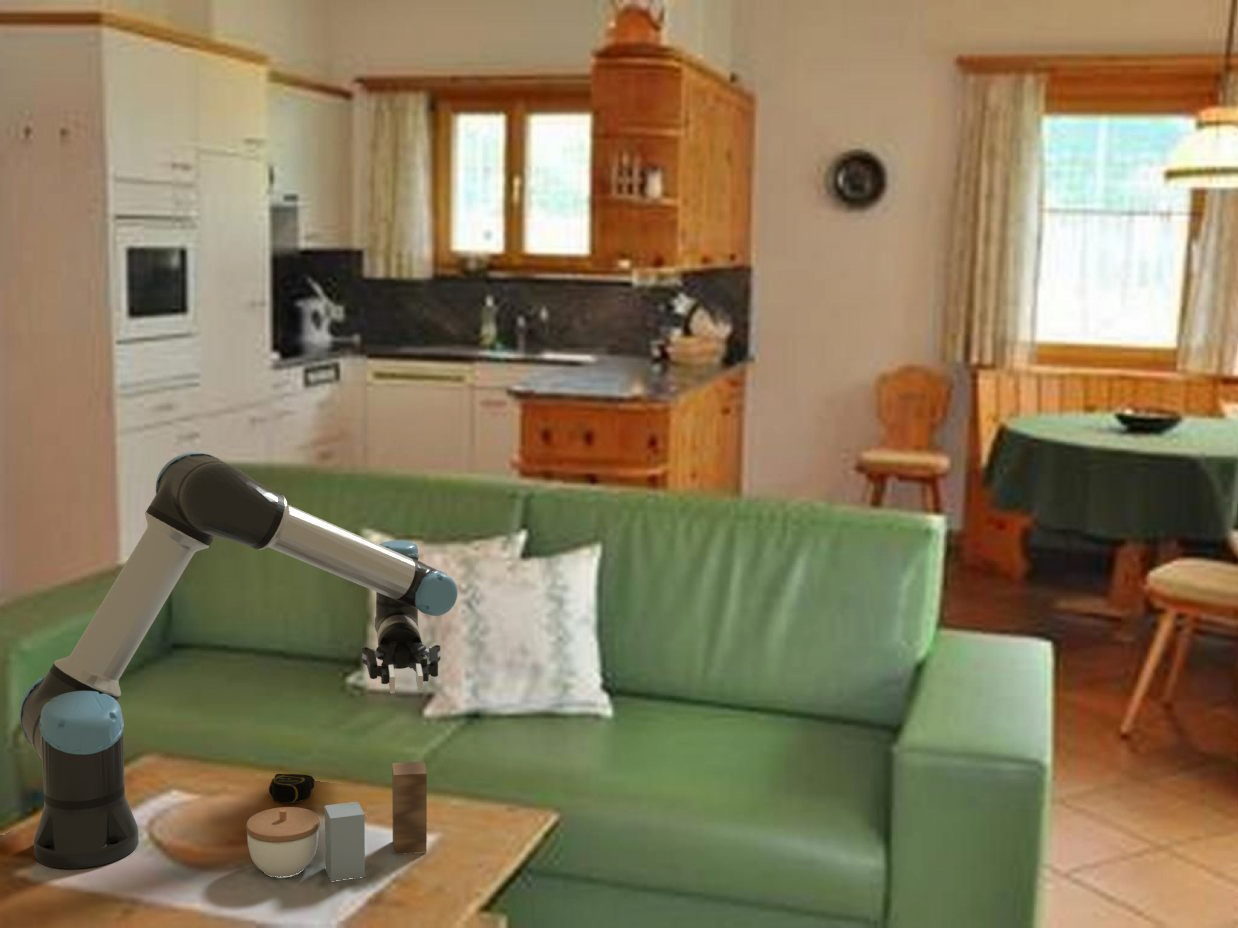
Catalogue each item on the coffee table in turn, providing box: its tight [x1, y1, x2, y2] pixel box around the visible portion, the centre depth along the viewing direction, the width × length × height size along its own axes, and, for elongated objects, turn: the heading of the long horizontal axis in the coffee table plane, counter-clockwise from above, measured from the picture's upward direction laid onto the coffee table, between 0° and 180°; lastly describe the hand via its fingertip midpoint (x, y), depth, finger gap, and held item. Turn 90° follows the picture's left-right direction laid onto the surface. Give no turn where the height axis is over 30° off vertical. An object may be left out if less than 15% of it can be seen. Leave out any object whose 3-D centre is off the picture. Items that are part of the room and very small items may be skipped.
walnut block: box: [391, 761, 428, 855], centre depth 220 cm, size 5×5×13 cm
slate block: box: [324, 800, 366, 882], centre depth 211 cm, size 5×5×10 cm
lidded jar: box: [245, 806, 321, 877], centre depth 212 cm, size 11×11×9 cm
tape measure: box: [268, 773, 315, 804], centre depth 238 cm, size 7×7×4 cm
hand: (406, 684), depth 224 cm, fingers open, 4 cm apart
